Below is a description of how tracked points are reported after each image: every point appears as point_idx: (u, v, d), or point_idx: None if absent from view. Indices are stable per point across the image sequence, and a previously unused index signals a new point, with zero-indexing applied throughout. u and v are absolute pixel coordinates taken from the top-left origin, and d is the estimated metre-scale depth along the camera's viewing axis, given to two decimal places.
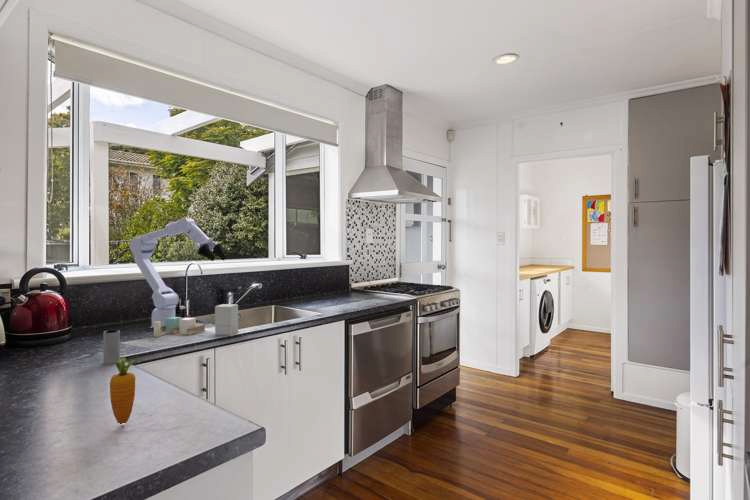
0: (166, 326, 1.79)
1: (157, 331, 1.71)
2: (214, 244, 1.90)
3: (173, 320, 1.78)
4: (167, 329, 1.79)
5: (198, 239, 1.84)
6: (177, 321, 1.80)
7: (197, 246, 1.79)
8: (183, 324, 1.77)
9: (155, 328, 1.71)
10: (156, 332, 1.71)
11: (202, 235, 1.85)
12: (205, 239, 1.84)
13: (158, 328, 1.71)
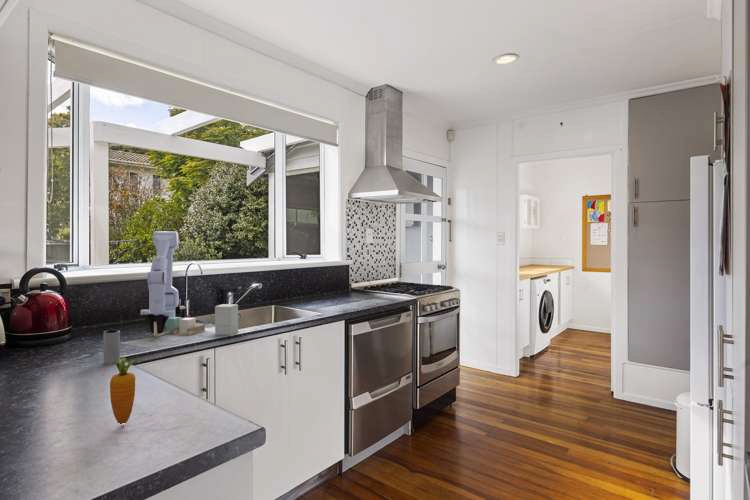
0: (166, 326, 1.79)
1: None
2: (164, 313, 1.70)
3: (173, 320, 1.78)
4: (167, 329, 1.79)
5: None
6: (177, 321, 1.80)
7: None
8: (183, 324, 1.77)
9: (155, 328, 1.71)
10: (156, 332, 1.71)
11: (149, 303, 1.69)
12: (149, 309, 1.70)
13: None
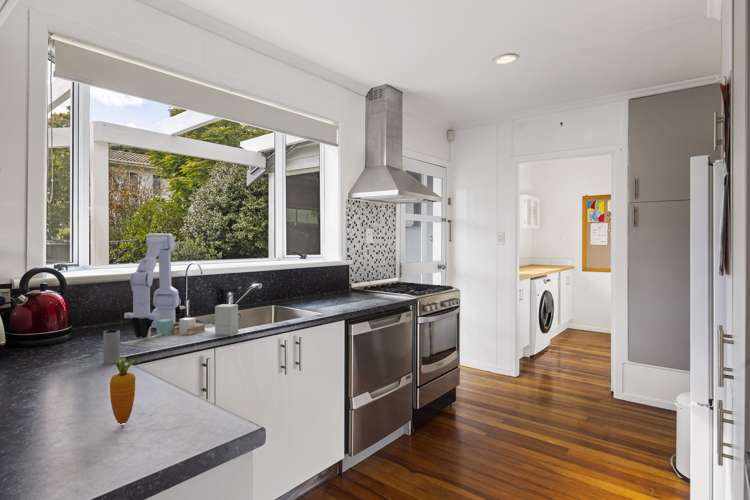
0: (157, 329, 1.74)
1: (147, 335, 1.66)
2: (148, 316, 1.62)
3: (164, 323, 1.73)
4: (158, 332, 1.74)
5: None
6: (168, 324, 1.75)
7: None
8: (183, 324, 1.77)
9: None
10: None
11: (133, 305, 1.62)
12: (133, 312, 1.62)
13: (148, 332, 1.66)
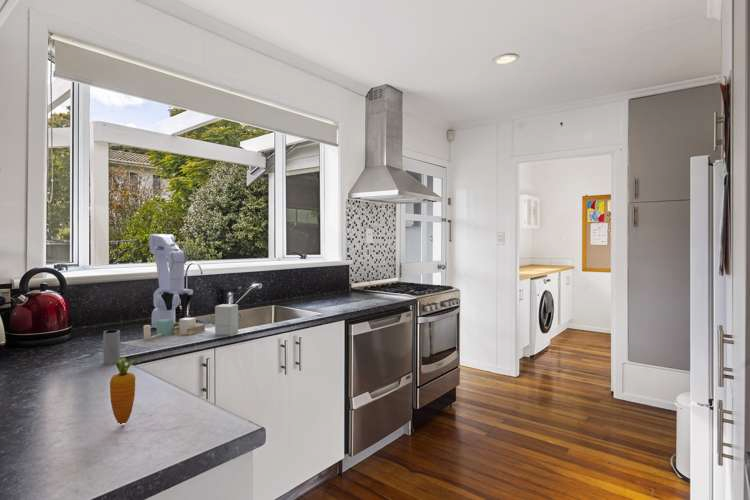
0: (157, 329, 1.74)
1: (147, 335, 1.66)
2: (183, 291, 1.78)
3: (164, 323, 1.73)
4: (158, 332, 1.74)
5: None
6: (168, 324, 1.75)
7: None
8: (183, 324, 1.77)
9: (145, 332, 1.66)
10: (146, 336, 1.66)
11: (170, 281, 1.77)
12: (169, 287, 1.78)
13: (148, 332, 1.66)
